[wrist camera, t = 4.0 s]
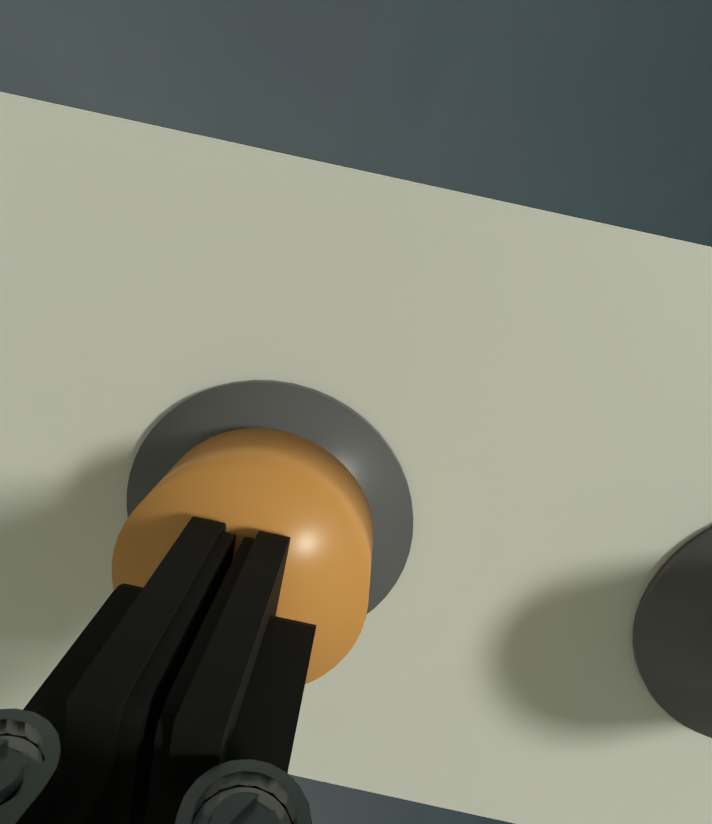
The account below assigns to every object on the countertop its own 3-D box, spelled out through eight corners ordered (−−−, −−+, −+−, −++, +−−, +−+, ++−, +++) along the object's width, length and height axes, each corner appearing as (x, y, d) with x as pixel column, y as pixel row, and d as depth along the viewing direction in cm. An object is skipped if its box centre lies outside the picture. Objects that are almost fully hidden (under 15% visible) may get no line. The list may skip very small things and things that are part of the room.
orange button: (168, 406, 11) (120, 445, 9) (395, 455, 11) (394, 505, 9) (148, 597, 12) (104, 664, 11) (349, 640, 12) (340, 716, 11)
